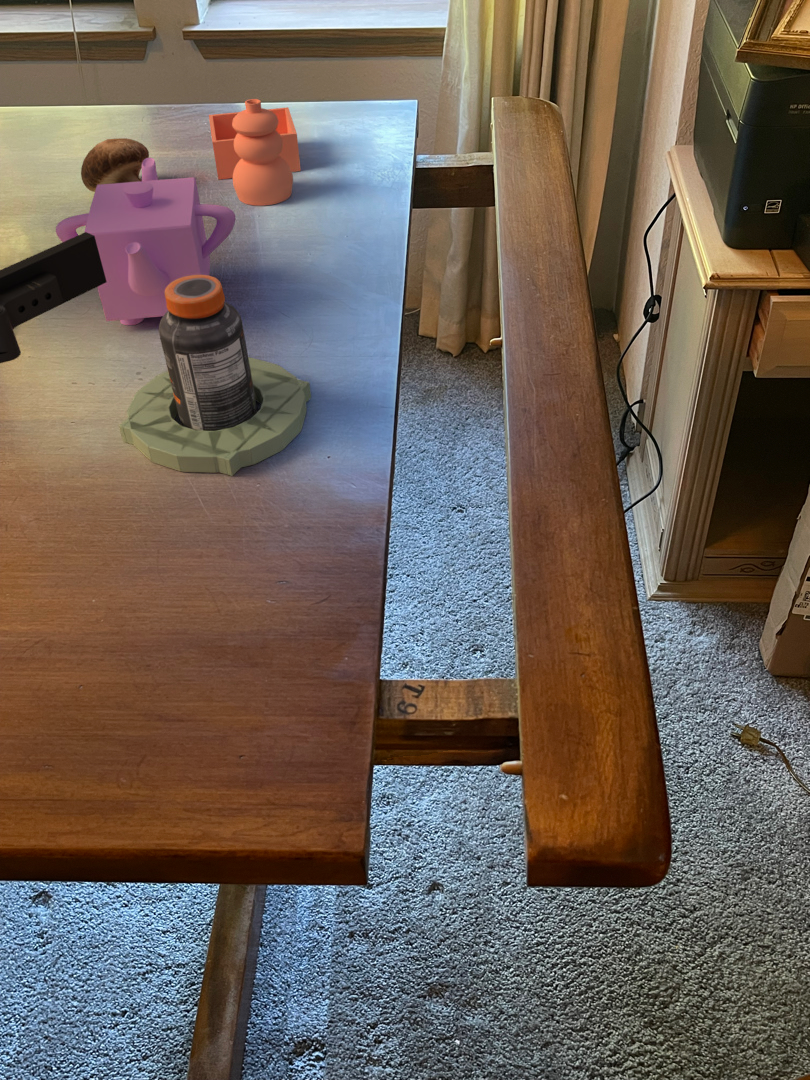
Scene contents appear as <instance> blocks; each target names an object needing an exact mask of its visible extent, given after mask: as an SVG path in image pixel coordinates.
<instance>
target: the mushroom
mask: <svg viewBox="0 0 810 1080" xmlns="http://www.w3.org/2000/svg"><path fill="white" fill-rule="evenodd" d="M146 158H150V152H149V150H148V148H147V147H146V146H145V144H143V143H141V142H139V141H138V140H135V139H131V138H127V137H126V138H125V137H124V138H123V137H121V138H119V137H118V138H107V139H105V140H103V141H101V142H99V143H97V144H95V145H94V146H93V148H91V149H90V150H89V151H88V153H87V154H86V156H85V157H84V158H83V160H82V161H83V162H82V165H81V168H80V170H81V171H80V177H81V181H82V183H83V186H85V188H86V189H87V190H89V191H91V192H92V193H95V190H96V187H97V185H102V184H115V183H127V182H139V181H142V178H140V173H141V171H142V162H143V160H144V159H146Z"/></svg>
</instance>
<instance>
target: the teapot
mask: <svg viewBox="0 0 810 1080" xmlns="http://www.w3.org/2000/svg"><path fill="white" fill-rule="evenodd" d="M89 208H90V209H89V211H88V212H87V213H81V214H76V215H71V216H68V217H66V218H64V219H62V220H60V221H59V222H58V223H57V224H56V226H55V234H56V236H57V238H58V240H60V241H61V243H62V242H65V241H67V240H69V239H71V238H74V237H76V236H78V235H79V234H78V232H77V229H79V228H81V227H84V232H83V233H85V232H87V233H89V234H92V235H94V236H95V240H96V244H97V247H98V251H99V255H100V259H101V262H102V266H103V270H104V274H105V277H106V281H107V282H106V283H104V284H102V285H100V286H98V287H96V288H97V291H98V292H97V293H98V295H99V300H100V304H101V307H102V310H103V314H104V318H105V321H106V322H113V321H119V322H120V324H121V325H123V326H135V325H138V324H141V323H142V322H143V321H144V320H145V319H147V318H159V317H163V316H164V314H165V313H166V312H167V311H168V309H167V304H166V298H165V289H166V287H167V286H168V285H169V284H170V283H171V282H173V281H175V280H177V279H179V278H182V277H185V276H190V275H208V276H210V271H211V270H210V268H211V257H210V255H211V254H212V253H213V252H214V251H215V250H216V249H217V248H218V247H220V245H222V244H223V242H224V241H225V240H226V239H228V237H229V236H230V235H231V233H232V231H233V229H234V227H235V225H236V214H235V212H234V211H233V210H232V209H231V208H229V207H227V206H225V205H220V204H210V203H202V204H201V201H200V196H199V189H198V185H197V178H196V177H195V176H192V177H181V178H180V177H179V178H165V179H159V177H158V173H157V165H156V161H155V159H154V158H153V157H149V158H146V159H144V160H143V162H142V168H141V181H139V182H127V183H115V184H102V185H97V187H96V190H95V192H94V194H93V198H92V200H91V204H90V207H89ZM203 217H210V218H214V219H215V220H216V224H215V226H214V229H213V231H212V232H211V234H210V236H209V237H208V239H207V233H206V229H205V223H204V218H203Z"/></svg>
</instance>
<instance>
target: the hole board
mask: <svg viewBox="0 0 810 1080" xmlns="http://www.w3.org/2000/svg"><path fill="white" fill-rule="evenodd" d="M248 359H249V364H250V370H251V376H252V381H253V387H254V393H255V401H256V403H257V402H258V403H259V404H260V405H261V406H260V409H259V410H257V413H256V414H255V415H254V416H253V417H252V418H251V419H249V420H247V421H245V422H243V423H241V424H239V425H237V426H235V427H232V428H227V429H222V430H217V431H198V430H193V429H190V428H187V427H183V426H182V425H181V423H178V422H177V421H176V420H175V419H176V417H177V415H178V410H177V406H176V403H175V398H174V394H173V390H172V386H171V381H170V377H169V373H168V370H166V371H165V372H162V373H160V374H157V375H156V376H155V377H154V378H152V379H151V380H150V381H148V382H147V383H146V384H145V385H143V386H142V387H141V388H140V389H139V390H137V391H136V393H135V395H134V397H133V398H132V401H131V403H130V405H129V406H128V408H127V410H126V415H127V418H126V419H125V420H124V421H122V422H121V423H120V424H119V425H118V428H119V431H120V435H121V439H122V441H123V443H127V444H130V445H133V446H134V447H135V448H136V449H137V450H138V451H139V452H141V454H143V455H144V456H145V457H146V459H148V460H149V461H150V462H152V463H154V464H155V465H159V466H162V467H166V468H169V469H172V470H174V471H177V472H181V473H209V474H210V473H212V474H216V473H220V474H224V475H227V476H229V477H233V476H234V475H236V473H238V472H239V471H240V469H241V468H245V467H246V468H247V467H250V466H254V465H256V464H258V463H260V462H262V461H264V460H266V459H268V458H270V457H272V456H274V455H276V454H278V453H280V452H282V451H283V450H284V449H285V448H286V447H287V446H288V445H290V443H291V442H292V441H293V440H294V439H295V438H296V437H297V436H298V435H299V434H300V433H301V432H302V430H303V426H304V422H305V419H306V415H307V411H308V409H307V403H308V402H309V400H311V399H312V393H311V383H310V381H307V380H302V379H298V377H297V376H295V375H294V374H292V373H291V372H290V371H288V370H286V369H285V368H284V367H283V366H281V365H280V364H277V363H273V362H270V361H266V360H262V359H258V358H254V357H250V356H248Z"/></svg>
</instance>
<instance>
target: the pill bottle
mask: <svg viewBox="0 0 810 1080" xmlns="http://www.w3.org/2000/svg"><path fill="white" fill-rule="evenodd" d="M222 285H223V284H222V282H221V281H220V280H219V279H218V278H216V277H215V276H211V275H209V276H208V275H190V276H185V277H182V278H179V279H177V280H175V281H173V282H171V283H170V284H169V285H168V286H167V287H166V289H165V298H166V304H167V309H168V311H167V312H166V313H165V314H164V316H161V319H160V322H159V325H158V334H159V338H160V344H161V348H162V351H163V352H162V353H163V356H164V360H165V364H166V368H167V371H168V373H169V377H170V381H171V386H172V390H173V394H174V398H175V403H176V406H177V410H178V413H177V415H178V418H179V423H180V425H181V426H183V427H187V428H190V429H193V430H198V431H217V430H222V429H227V428H232V427H235V426H237V425H239V424H241V423H243V422H245V421H247V420H249V419H251V418H252V417H253V416H254V415H255V414H256V413H257V412H258V406H257V401H256V400H255V393H254V387H253V381H252V376H251V370H250V364H249V359H248V357H249V353H248V348H247V342H246V337H245V330H244V326H243V325H244V324H243V320H242V317H241V314H240V313H239V311H238V310H237V308H236V307H234V306H233V305H232V304H230V303H229V302H227V301H225V300H226V298H225V293H224V288H223V286H222Z"/></svg>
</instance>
